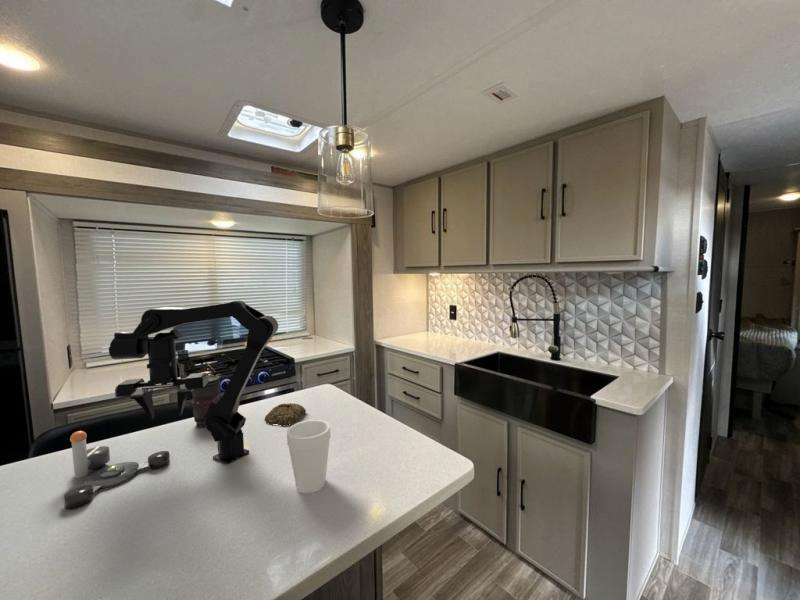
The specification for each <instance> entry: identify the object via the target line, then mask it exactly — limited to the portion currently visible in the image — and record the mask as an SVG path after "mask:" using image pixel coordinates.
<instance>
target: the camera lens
mask: <svg viewBox="0 0 800 600" xmlns="http://www.w3.org/2000/svg"><path fill="white" fill-rule="evenodd" d="M220 379H221V378H220V376H218V375H208V383H207V384H206V385H205V386H204V387H203V388H200V389H194V390H193V391H192V392H191V394H192V395H191V396H192V407H193V409H192V410H193V411H192V413H193V419H194V422H195V423H196V426H197V427H198V426H200V427H199V428H206V426H205V425H204V422H205V419H206V417H205V418H204V417H203V416H204V415H205V414H206V413H207V412H208V409H209V405H210V403H211V402H212V401H213V400H214V399H215V398H216V397H217V396H219V395H221V389H222V388H221V380H220Z"/></svg>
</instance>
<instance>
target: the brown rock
mask: <svg viewBox="0 0 800 600" xmlns="http://www.w3.org/2000/svg"><path fill="white" fill-rule="evenodd" d="M305 412H307V410H306V408H305V407H304V406H303V405H301V404H298V403H280V404H278V405H276V406H274V407H273V408H272V409H271V410H269V412H268V413H267V414H266V415H265V417H264V418H265V419H264V421H265V420H266V421H265V423H266V424H267V423H269V424H268V425H270V424H278V425H281V426H280V427H283V426H282V425H289V424H291V425H293V424H295V423H297V422H298V420H299V419H300V418H301V419H302V418H303V417H304V415H305V414H306V413H305ZM302 416H303V417H302ZM301 419H300V420H301ZM300 420H299V421H300ZM296 421H297V422H296ZM294 422H295V423H294ZM292 423H293V424H292ZM278 425H277V426H278ZM289 426H290V425H289Z"/></svg>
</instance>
